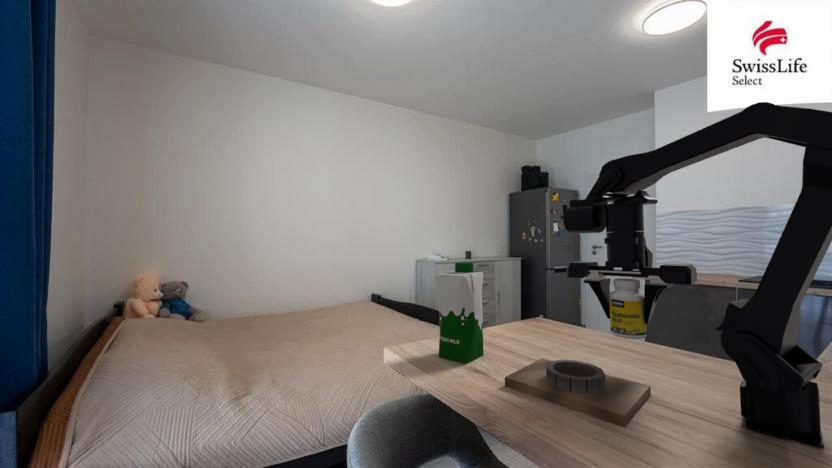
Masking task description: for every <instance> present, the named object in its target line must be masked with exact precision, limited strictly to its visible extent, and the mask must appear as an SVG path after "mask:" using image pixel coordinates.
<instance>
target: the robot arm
mask: <svg viewBox="0 0 832 468" xmlns="http://www.w3.org/2000/svg"><path fill="white" fill-rule="evenodd" d="M764 138H766V139H769V140H774V141H779V142H783V143H787V144H790V145H794V146H799V147H802V148H805V149H804V154H803V158H802V180H801V183H802V184H801V190H800V193H799V195H798V197H797V199H796V202H795V204H794V206H793V209H792V210H791V213H790V215H789V217H788V220H787V222H786V224H785V225H784V228H783V231H782V233H781V235H780V237H779V239H778V242H777V244H776V245H775V249H774V250H773V253H772V255H771V257H770V259H769V260H768V261H769V262H768V264H767V266H766V268H765V270H764V273H763V275H762V277H761V279H760V282H759V284H758V286H757V288H756V291H755V292H754V294H753V295H752V297H751V298H750V299H747V298H743V299H739V300H737V301H732V302H728V304H727V305H726V309H725V316H724V317H723V318H724V319H723V321H722V322H721V323H720V325H719V326H717V327H715V328H716V329H715V330H716V331H718V332H721V334H720V335H719V336H720V337H719V345H720V346H721V347H722V349H723V351H724V352H725V354H726V355H727V356H728V357H729V358H730V359H731V360H732V361H734V362H735V364H736V366H737V369H738V371H739V373H740V375H741V376H742V379H743V380H741V382H740V385H739V398H740V399H739V401H740V416H741V417H742V418H743V419H745V422H744V424H745V427H746V428H747V429H749V430H753V431H757V432H760V433H762V434H763V433H765V434H767V435H770V436H774V437H777V438H778V437H779V438H782V439H784V440H790V441H792V442H796V443H799V444H803V445H807V446H810V447H813V448H818V449H825V442H824V438H823V432H822V425H821V405H820V403H821V402H820V390H819V385H818V383H817V382H813V381H812V380H815V379H816V378H817V377H818V376H819V374H820V372H821V370H822V369H823V363H821V362H820V360H818V359H816V358H815V357H814V356H813V355H812V354H810V353H809V352H808V351H807V350H805V349H804V348H803V347H802V346H801V345H799V344H798V343H797V342H798V336H799V331H800V326H801V324H800V323H801V305H802V303H803V301H804V298H805V296H806V294H807V292H808V290H809V288H810V286H811V283H812V282H813V279H814V278H815V276H816V275H817V271H818V269H819V268H820V265H821V264H822V263H823V262H822V261H823V259H824V257H825V255H826V253H827V251H828V249H829V248H830V245H831V243H832V111H828V110H821V109H815V108H806V107H797V106H787V105H786V106H785V105H779V104H778V105H777V104H774V103H771V102H768V101H761V102H760V101H759V102H756V103H753V104H751V105H749V106H747V107H746V108H744V109H743V110H741V111H739V112H737V113H735V114H732V115H730V116H728V117H726V118H724V119H721V120H719V121H716V122H713V123H711V124H710V125H708V126H706V127H704V128H701V129H699V130H696V131H693V132H692V133H690V134H687V135H685V136H683V137H681V138H678V139H676V140H674V141H671V142H670V143H667V144H665V145H663V146H661V147H658V148H656V149H652V150H650V151H647V152H641V153H635V154H629V155H626V156H623V157H619V158H618V157H617V158H616V159H612V160H609V161H607V162H606V163H605V164H603V165H602V166H601V169H600V171H599V175H598V178H597V179H596V181H595V182H594V184H593V186H592V188H591V189H590V190H589V192H588V194H587V195H586V197H585V199H570V200H569V206H568V207H567V208H566V210H565V212H564V216H563V217H562V219H563V225H564V228H565V230H566V231H567V232H568V233H570V234H572V235H573V234H575V235H576V234H577V235H579V234H600V233H603V232H604V231H605V232H606V233H605V236H606V237H605V238H603V240H604V245H606V260H605V262H604V263H605V264H604V265H599V263H598V261H582V260H581V261H578V260H577V261H573V262H569V264H567V266H566V277H567V278H572V279H573V278H575V279H582V280H583V283H584V284H588V285H589V286H590V288H591V290H592V292H593V293H594V295H595V296H596V298H597V300H598V303H600V305H601V308H602V310H603V312H604V314H605V316H606V318H607V319H608V320H610V293H611V288H610V287H611V286H610V285H611V281H612V280H611V278H610V277H624V278H628V277H629V278H645V279H646V278H647V279H648V281H649V282H647V283H645V284H644V290H643V291H644V292H643V294H644V320H645V324H646V325H649V323H650V321H651V320H652V319H651V318H652V317H653V314H654V311H655V308H656V306H657V303H658V301H659V299H660V297H661V294H662V293H663V291H664V290H665V289H669V288H672V287H673V286H674V285H688V286H689V285H693V284H695V283H697V282H698V275H697V273H698V272H697V267H695V266H694V265H693V264H692V263H691V264H690V263H689V264H688V263H665V264H660V265H659V267H653V260H654V259H653V258H654V257H653V256H654V254H653V252H652V251H651V250H650V249H649V248H648V246H647V241H646V236H645V221H644V217H645V216H644V206H645V205H646V206H649V205H656V204H658V199H656V198H655V197H654V196H651V195H650V194H649V193H648V192H647V190H646V189H648V188H649V187H651V186H653V185H655V184H656V183H658V182H659V181H660V180H661V179H662V178H663V177H665V176H668V175H669V174H671V173H673V172H676V171H678V170H681V169H684V168H686V167H689V166H691V165H694V164H697V163H700V162H703V161H705V160H708V159H710V158H712V157H715V156H718V155H721V154H724V153H726V152H728V151H731V150H734V149H736V148H739V147H742V146H745V145H746V144H749V143H752V142H753V143H754V142H755V141H757V140H760V139H764ZM615 268H617V269H615ZM608 276H609V277H608ZM607 277H608V278H607Z"/></svg>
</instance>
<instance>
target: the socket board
mask: <svg viewBox="0 0 832 468" xmlns="http://www.w3.org/2000/svg"><path fill="white" fill-rule="evenodd" d="M504 387H506V388H509V389H510V390H511V389H512V390H515V391H518V392H519V393H520V392H521V393H523V394H526V395H529V396H532V397H535V398H539V399H541V400H545V401H547V402H549V403H552V404H555V405H559V406H562V407H565V408H567V409H571V410H573V411H576V412H578V413H582V414H584V415H588V416H590V417H593V418H596V419H599V420H602V421H605V422H607V423H611V424H614V425H616V426H619V427H623V428H626V426H627V425H628V424H629V423H630V422H631V420H632V419H633V418H634V417H635V416H636V415H637V413H638V412H639V411H640V409H641V408H642V407H643V406H644V404H645V403H646V402H647V401H648V399H650V397H651V396H652V391H651V390H652V389H651V388H652V386H651V385H650V384H649V385H648V384H645V383H641V382H637V381H634V380H629V379H625V378H620V377H617V376H613V375H610V374H605V372H604V370H603V369H602V368H601V367H598V366H597V365H594V364H591V363H589V362H584V361H581V360H575V359H574V360H573V359H572V360H571V359H558V360H551V359H550V360H549V359H546V358H540V359H538V360H536V361H534V362H532V363H530V364H527V365H526V366H524V367H522V368H520V369H518V370H516V371H515V372H512V373H510V374H508V375H507V376H505V377H504Z"/></svg>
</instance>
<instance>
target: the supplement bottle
mask: <svg viewBox="0 0 832 468" xmlns="http://www.w3.org/2000/svg"><path fill="white" fill-rule="evenodd" d="M612 286H613V288H614V289H615V290H612V291H610V319H609V326H610V327H609V328H610V334H612V335H613V336H615V337H618V338H622V339H629V340H642V339H645V338H646V337H647V324H645V320H644V292H641V291H640V289H641V280H640V279H638V278H637V279H635V278H625V277H624V278H622V277H621V278H620V277H619V278H614V279H613V285H612Z"/></svg>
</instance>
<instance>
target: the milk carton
mask: <svg viewBox="0 0 832 468" xmlns="http://www.w3.org/2000/svg"><path fill="white" fill-rule="evenodd" d="M434 276H435V279H436V281H435V282H436V284H437V291H438V298H439V299H438V301H439V302H438V305H439V307H438V308H439V309H438V310H439V342H438V358H441V359H444V360H449V361H452V362H456V363H459V364H460V363H461V364H464V365H467V364H469V363H471V362H473V361H475V360H476V359H479V358H481V357H482V356H484V352H485V351H484V327H483V325H484V323H483V322H484V321H483V282H484V272H483V271H481V272H479V271H474V262H467V261H465V262H463V261H462V262H455V263H454V270H453V271H451V270H450V271H443V272H440V273H439V272H438V273H435V274H434Z"/></svg>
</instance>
